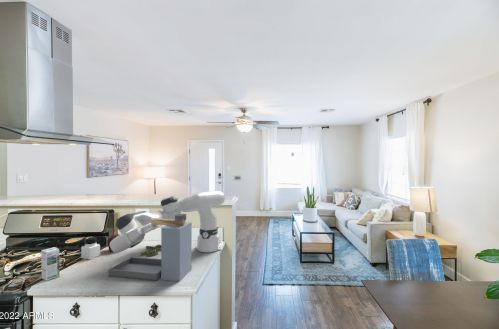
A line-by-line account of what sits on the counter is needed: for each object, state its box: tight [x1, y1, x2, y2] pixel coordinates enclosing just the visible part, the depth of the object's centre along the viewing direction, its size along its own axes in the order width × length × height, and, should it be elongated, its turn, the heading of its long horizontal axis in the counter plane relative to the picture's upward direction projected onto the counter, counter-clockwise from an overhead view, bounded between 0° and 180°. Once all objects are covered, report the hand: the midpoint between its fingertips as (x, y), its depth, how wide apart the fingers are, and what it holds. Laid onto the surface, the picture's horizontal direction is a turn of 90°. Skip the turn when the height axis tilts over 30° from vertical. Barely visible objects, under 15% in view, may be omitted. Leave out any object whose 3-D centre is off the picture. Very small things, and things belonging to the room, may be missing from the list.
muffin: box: [106, 233, 121, 253], centre depth 170 cm, size 12×11×10 cm
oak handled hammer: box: [151, 213, 187, 226], centre depth 135 cm, size 5×18×6 cm, turn 79°
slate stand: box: [160, 221, 193, 282], centre depth 134 cm, size 14×10×26 cm
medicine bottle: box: [80, 236, 101, 260], centre depth 158 cm, size 7×7×12 cm
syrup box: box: [40, 246, 61, 282], centre depth 130 cm, size 6×6×14 cm
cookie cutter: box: [140, 244, 161, 258], centre depth 168 cm, size 18×12×2 cm, turn 7°
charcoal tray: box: [107, 256, 161, 282], centre depth 138 cm, size 18×27×4 cm, turn 79°
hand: (156, 222), depth 136 cm, fingers open, 8 cm apart
